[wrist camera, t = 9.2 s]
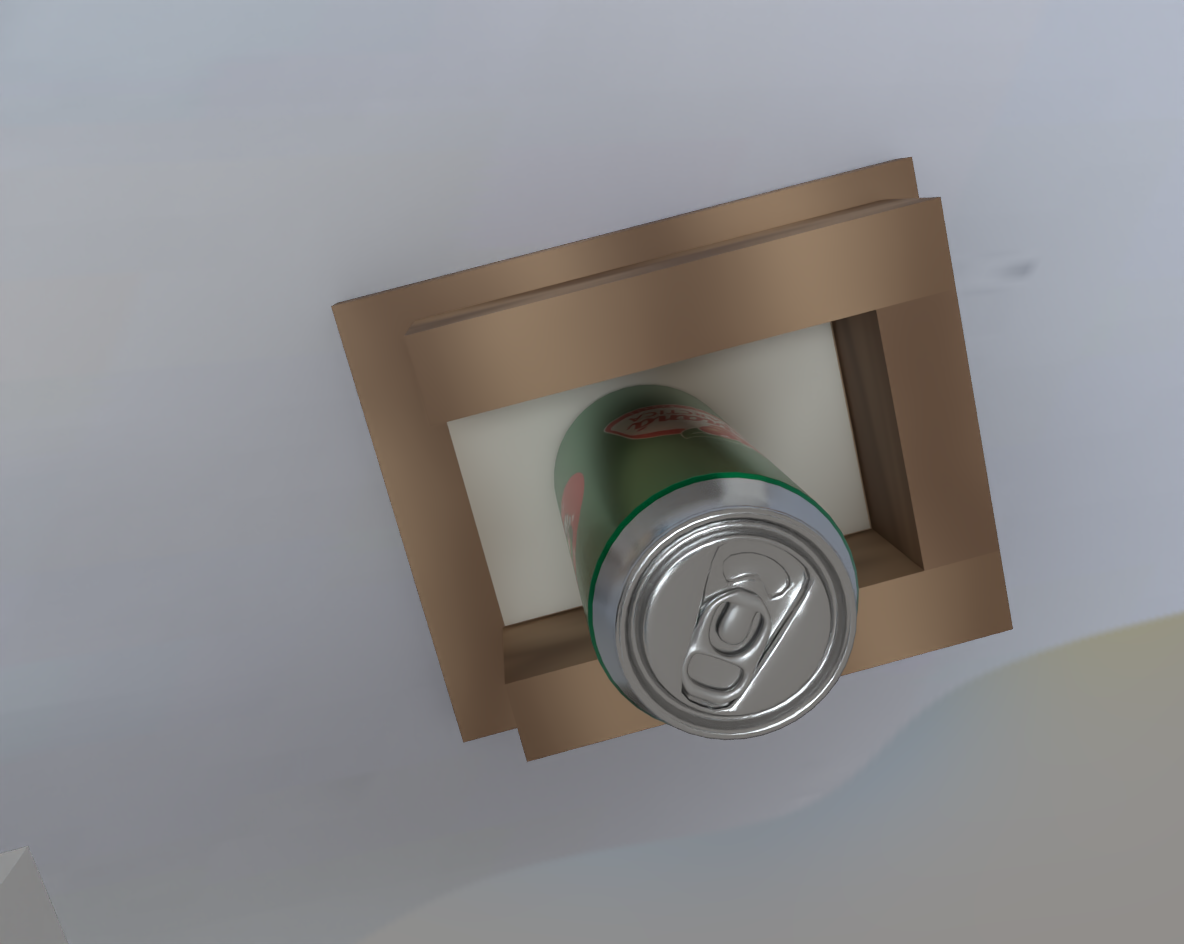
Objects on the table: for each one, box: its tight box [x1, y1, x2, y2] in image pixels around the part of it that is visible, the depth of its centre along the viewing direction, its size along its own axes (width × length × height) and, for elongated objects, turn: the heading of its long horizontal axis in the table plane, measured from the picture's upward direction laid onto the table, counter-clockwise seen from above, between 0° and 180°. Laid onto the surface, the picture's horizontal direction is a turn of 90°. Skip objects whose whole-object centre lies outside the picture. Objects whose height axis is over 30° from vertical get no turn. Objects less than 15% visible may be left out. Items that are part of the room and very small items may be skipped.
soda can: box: [554, 385, 859, 740], centre depth 25 cm, size 5×5×12 cm
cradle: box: [331, 157, 1013, 762], centre depth 30 cm, size 16×13×5 cm
